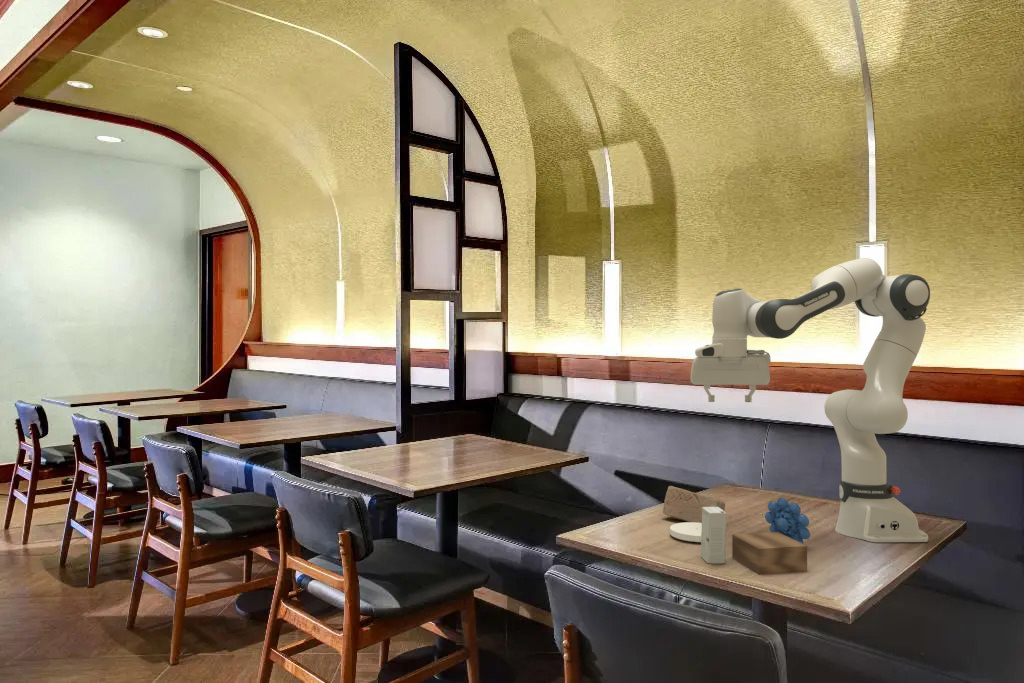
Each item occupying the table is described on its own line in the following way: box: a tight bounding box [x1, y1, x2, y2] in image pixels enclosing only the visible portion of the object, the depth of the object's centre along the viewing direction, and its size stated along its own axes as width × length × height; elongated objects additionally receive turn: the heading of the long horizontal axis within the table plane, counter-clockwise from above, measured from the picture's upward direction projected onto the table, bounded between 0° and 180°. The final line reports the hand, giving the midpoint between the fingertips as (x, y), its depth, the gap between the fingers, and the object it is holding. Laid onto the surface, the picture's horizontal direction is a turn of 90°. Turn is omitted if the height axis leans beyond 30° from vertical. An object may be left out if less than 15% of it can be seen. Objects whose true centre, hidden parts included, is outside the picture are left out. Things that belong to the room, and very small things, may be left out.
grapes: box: [764, 497, 811, 544], centre depth 183 cm, size 12×7×12 cm, turn 46°
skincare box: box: [700, 507, 728, 565], centre depth 172 cm, size 6×4×12 cm
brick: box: [662, 485, 726, 523], centre depth 205 cm, size 16×8×5 cm
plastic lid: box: [669, 521, 702, 543], centre depth 192 cm, size 14×14×2 cm
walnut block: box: [731, 531, 808, 575], centre depth 169 cm, size 12×12×6 cm
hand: (729, 402), depth 192 cm, fingers open, 8 cm apart
